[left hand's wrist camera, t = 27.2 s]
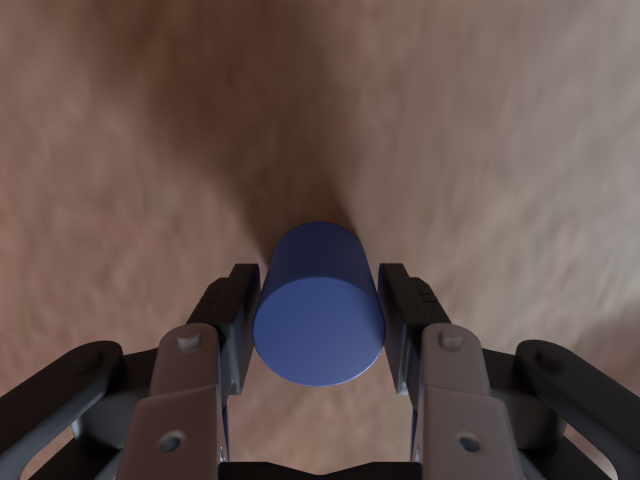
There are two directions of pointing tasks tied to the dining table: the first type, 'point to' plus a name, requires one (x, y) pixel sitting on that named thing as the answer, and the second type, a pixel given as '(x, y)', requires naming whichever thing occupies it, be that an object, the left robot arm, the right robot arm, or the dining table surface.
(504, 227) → the dining table surface
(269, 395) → the dining table surface
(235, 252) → the dining table surface
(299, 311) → the can
